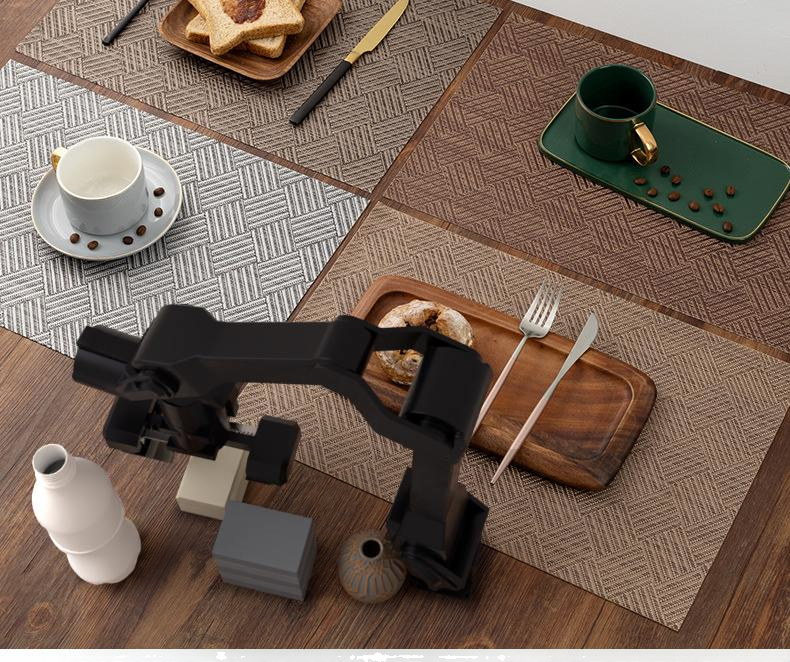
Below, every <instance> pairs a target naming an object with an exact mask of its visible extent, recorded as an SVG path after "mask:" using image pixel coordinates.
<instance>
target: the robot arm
mask: <svg viewBox="0 0 790 662" xmlns="http://www.w3.org/2000/svg"><path fill="white" fill-rule="evenodd" d="M75 343H76V346H77V350H76V353H75V356H74V360H73V366H72V373H71V378H72V380H73V382H75V383H76V384H80V385H82V386H85V387H89V388H92V389H94V390H97V391H100V392H102V393H106V394H109V395H112V396H114V397H115V398H114V400H113V402H112V405H111V406H110V409H109V412H108V414H107V417H106V418H105V419H106V420H105V421H104V424H103V427H102V434H101V435H102V437H103V439H104V441H105V443H106V446H107V447H108V448H109V449H113V450H117V451H121V452H122V453H124V454H125V453H126V454H128V455H134V456H138V457H142V458H146V459H150V460H155V461H159V462H164V463H168V464H172V463H173V461H174V459H175V455H176V454H175V453H178V454H182V455H185V456H190V457H191V456H194V457H199V458H203V459H208V460H212V461H215V460H216V457H217V454H218V452H219V450H220V449H222V448H223V446H228V447H232V448H237V449H241V450H246V451H250V452H249V455H248V458H247V463H246V470H245V472H246V478H245V480H247V481H248V482H251V483H256V484H261V485H266V486H277V487H282V486H284V485H285V484H288V482H289V478H290V475H291V472H292V469H293V466H294V462H295V459H296V455H297V452H298V449H299V446H300V443H301V439H302V429H301V427H300V424H299V423H298V421H296V420H291V419H288V418H282V417H279V416H273V415H269V414H263V415H262V416H261V417H260V419H259V422H258V425H257V426H254V425H249V424H244V423H239V422H235V421H230V419H231V418H234V419H235V418H236V417H237V414H238V411H239V408H240V404H239V401H238V398H239V394H240V391H241V388H242V386H243V385H244V383H248V384H270V385H271V384H273V385H295V386H296V385H297V386H298V385H299V386H320V387H321V386H322V387H323V388H324V389H327V390H329V391H331V392H333V393H336V394H338V395H340V396H342V397H344V398H346V399H348V400H349V402H351V404H352V405H353V407H354V408H355V409H356V410H357V412H358V413H359V414H360V415H361V417H362V418H363V419H364V421H365V422H366V423H367V425H368V426H369V427H370V428H371V429H372V431H373V432H374V433H375V434H377V435H378V436H380V437H383V438H385V439H386V440H389V441H391V442H394V443H395V444H398V445H401V446H402V447H403V448H404V449H408V450H411V451H412V458H411V466H406V468H405V470H404V473H403V476H402V477H401V480H400V483H399V486H398V489H397V492H396V494H395V496H394V499H393V502H392V504H391V507H390V509H389V512H388V515H387V518H386V521H385V529H386V531H385V532H386V534H385V537H384V539H386V540H391V546H392V548H393V549H394V550H395V551H396V552H399V554H398V556H399V558H400V559H401V561H402V562H403V563H404V565H405V566H406V568H407V570H408V573H410V577H409V580H408V586H409V588H410V589H413V590H415V591H420V592H425V593H430V594H433V595H438V596H441V597H445V598H446V597H447V598H450V599H454V600H457V601H463V602H470V601H471V600H472V597H473V592H474V586H475V581H476V576H477V571H478V567H479V562H480V556H481V552H482V546H483V542H482V538H483V536H482V535H483V532H484V529H485V525H486V522H487V519H488V516H489V513H490V510H491V508H490V507H489V506H487V505H486V504H485V503H484V502H482V501H481V500H480V499H479V498H477V497H476V496H475V495H473V494H472V493H471V492H470V491H468V490H467V486H466V484H465V483H462V482H459V478H460V472H461V467H462V461H463V457H464V456H465V454H466V452H467V451H468V448H469V447H470V443H471V439H472V437H473V435H474V432H475V429H476V425H477V422H478V421H479V420H478V419H479V417H480V414H481V412H482V408H483V406H484V403H485V400H486V397H487V395H488V393H489V389H490V386H491V383H492V380H493V378H494V371H493V368H492V366H491V365H490V363H489V362H487V361H484V358H483V356H482V355H481V353H480V352H478V350H476V349H475V348H473V347H471V346H469V345H467V344H465V343H463V342H462V341H461V342H460V341H458V340H456V339H454V338H451V337H450V336H447V335H445V334H443V333H440V332H438V331H437V330H435V329H433V328H430V327H427V326H426V325H411V326H410V325H408V326H407V325H406V326H405V325H404V326H388V327H380V326H378V325H375V324H373V323H372V322H369V321H367V320H364V319H362V318H359V317H357V316H354V315H350V314H341V315H337V316H336V317H335V318H334V319H333V320H331V321H225V320H219V319H217V318H216V317H215V316H214V315H213V314H212V313H211V312H210V311H208V310H207V308H205V307H203V306H199V305H193V304H189V303H170V304H169V303H168V304H164V305H163V306H161V307H160V309H159V310H158V312H157V314H156V316H155V317H154V318H153V319H152V320H151V321H150V324H149V326H148V327H147V328H146V329H145V331H144V333H143V335H142V336H141V337H139V336H136V335H133V334H129V333H127V332H125V331H124V332H123V331H121V330H118V329H115V328H112V327H109V326H106V325H102V324H95V325H93V326H91V325H85V326H84V328H83V330H82V331H81V333H80V335H78V338H77V340H76V342H75ZM393 351H394V352H397V351H413V352H416V353H418V354H420V355H422V356H421V358H420V361H419V364H418V366H417V370H416V372H415V374H414V376H413V378H412V381H411V384H410V386H409V389H408V391H407V393H406V396H405V399H404V401H403V403H402V406H401V408H400V412H399V414H398V415H397V414H394V413H393V412H391V411H390V410H389V409H388V408H387V406H386V405H385V404H384V403H383V401H382V399H380V397H379V396H378V395H377V394H376V392H375V391H374V390H373V389H372V388H371V386H370V385H369V384H368V382H367V381H366V380H365V379H364V377H363V376H364V374H365V373H366V369H367V367H368V365H369V363H370V361H371V358H372V355H373V354H374V353H377V352H393ZM413 582H414V583H415V584H412V583H413ZM465 595H468V597H466V596H465Z"/></svg>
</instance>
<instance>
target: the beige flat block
mask: <svg viewBox="0 0 790 662" xmlns="http://www.w3.org/2000/svg"><path fill="white" fill-rule="evenodd" d="M245 452H246V450H241V449H237V448H232V447H228V446H223V448H222V449H220V450H219V452H218V454H217V457H216V460H215V461H212V460H208V459H203V458H199V457H194V456H193V457H192V459H191V462H190V465H189V468H188V471H187V473H186V476H185V479H184V482H183V484H182V487H181V490H180V493H179V496H178V497H179V500H180V501H182V502H187V503H191V504H195V505H200V506H204V507H208V508H213V509H217V510H221V511H226V509H227V506H228V503H229V500H230V498H231V495H232V491H233V488H234V485H235V482H236V479H237V476H238V473H239V470H240V467H241V464H242V461H243V458H244V455H245Z"/></svg>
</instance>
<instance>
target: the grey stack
mask: <svg viewBox="0 0 790 662" xmlns="http://www.w3.org/2000/svg"><path fill="white" fill-rule="evenodd" d="M318 551H319V550H318V544H317V537H316V532H315V526H314V519H313V518H311V517H307V516H302V515H298V514H294V513H289V512H285V511H281V510H277V509H273V508H268V507H263V506H260V505H255V504H250V503H247V502H243V501H242V502H238V501H233V500H229V503H228V506H227V509H226V512H225V515H224V518H223V520H221V523H220V527H219V530H218V533H217V536H216V539H215V541H214V545H213V548H212V550H211V554H212V556H213V559H214V562H215V565H216V567H217V570H218V572H219V575H220V578H221V579H222V582H223V583H224V584H230V585H233V586H238V587H241V588H246V589H250V590H254V591H259V592H261V593H262V592H263V593H267V594H271V595H274V596H279V597H284V598H286V599H287V598H288V599H292V600H296V601H301V602H304V601H305V597H306V593H307V590H308V586H309V583H310V579H311V575H312V571H313V568H314V566H315V565H314V564H315V561H316V557H317V555H318Z"/></svg>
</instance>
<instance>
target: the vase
mask: <svg viewBox="0 0 790 662" xmlns="http://www.w3.org/2000/svg"><path fill="white" fill-rule="evenodd" d="M385 534H386V531H384V530H380V529H376V528H368V529H363V530H361V531H358V532H356V533H355V534H353V535H351V536H350V537H349V539H347V540H346V542H344V544H343V545H342V547H341V549H340V552H339V555H338V559H337V574H338V578H339V581H340V583H341V585H342V587H343V589H344V590H345V592H347V594H348V595H349V596H351V597H352V598H353V599H354V600H357V601H359V602H361V603H366V604H380V603H383V602H386V601H387V600H390V599H391V598H393V596H395V595H396V594H397V593H398V592H399V591H400V590H401V588H402V586H403V584H404V582H405V579H406V575H407V570H408V569H407V568H406V566H405V565H404V563H403V562H402V561H401V559H400V558H399V556H398V554H399V552H396V551H395V550H394V549H393V548H392V546H391V540H386V539H384V537H385Z"/></svg>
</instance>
